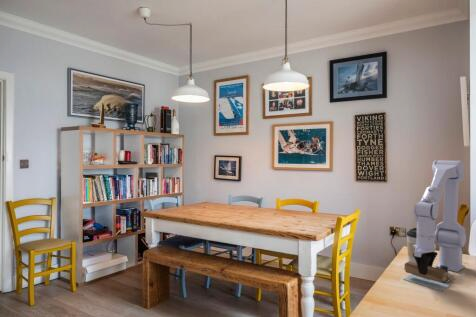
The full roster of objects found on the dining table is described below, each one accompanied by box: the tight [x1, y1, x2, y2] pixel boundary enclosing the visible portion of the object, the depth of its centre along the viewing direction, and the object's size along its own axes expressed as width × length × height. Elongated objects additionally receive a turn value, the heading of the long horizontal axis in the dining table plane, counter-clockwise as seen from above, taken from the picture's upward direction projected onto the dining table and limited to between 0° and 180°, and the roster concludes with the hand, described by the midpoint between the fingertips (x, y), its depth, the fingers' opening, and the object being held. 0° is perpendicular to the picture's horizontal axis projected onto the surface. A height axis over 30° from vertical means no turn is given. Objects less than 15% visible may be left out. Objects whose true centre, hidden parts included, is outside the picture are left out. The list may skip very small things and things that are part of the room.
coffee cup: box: [406, 227, 417, 263], centre depth 136 cm, size 9×9×15 cm
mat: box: [403, 274, 451, 292], centre depth 118 cm, size 7×13×1 cm, turn 41°
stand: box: [412, 265, 451, 284], centre depth 124 cm, size 6×11×4 cm, turn 41°
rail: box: [404, 261, 447, 282], centre depth 118 cm, size 3×13×3 cm, turn 41°
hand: (424, 272), depth 118 cm, fingers closed on rail, 3 cm apart
